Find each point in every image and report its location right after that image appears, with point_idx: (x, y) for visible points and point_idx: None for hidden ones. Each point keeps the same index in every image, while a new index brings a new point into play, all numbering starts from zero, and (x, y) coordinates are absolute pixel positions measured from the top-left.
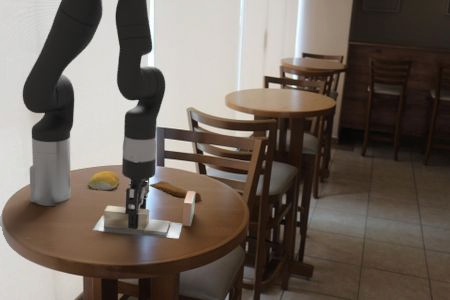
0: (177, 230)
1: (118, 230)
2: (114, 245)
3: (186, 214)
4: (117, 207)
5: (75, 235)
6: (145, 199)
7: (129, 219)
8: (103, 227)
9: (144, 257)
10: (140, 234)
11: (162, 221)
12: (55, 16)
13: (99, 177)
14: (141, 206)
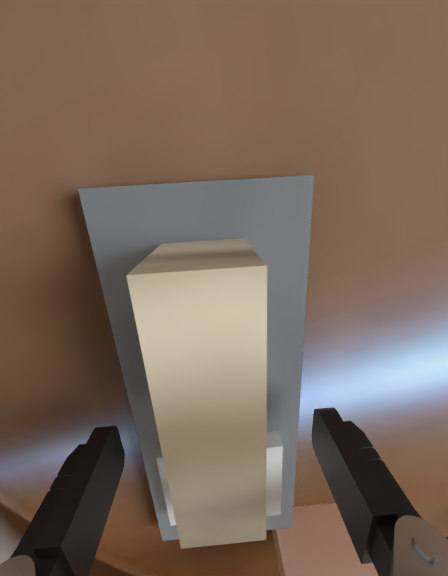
0: None
1: None
2: (32, 344)
3: None
4: (245, 364)
5: (26, 79)
6: (369, 561)
7: (39, 508)
8: (145, 247)
9: (4, 466)
10: (140, 434)
11: (269, 493)
12: None
13: None
14: (333, 473)
